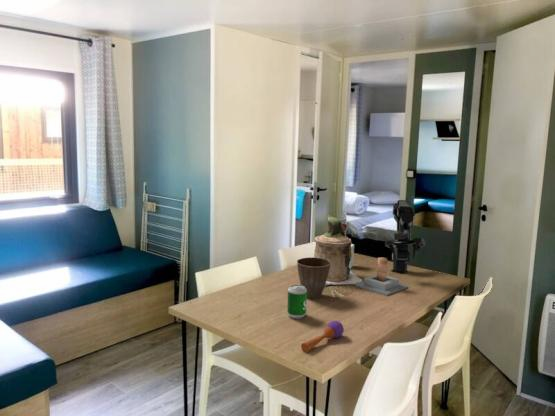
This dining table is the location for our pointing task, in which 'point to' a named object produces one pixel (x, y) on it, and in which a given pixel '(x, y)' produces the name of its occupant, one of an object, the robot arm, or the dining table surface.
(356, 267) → the dining table surface
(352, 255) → the supplement box
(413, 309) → the dining table surface
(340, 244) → the cookie jar
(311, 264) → the plant pot
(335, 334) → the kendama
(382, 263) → the peg
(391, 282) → the socket block
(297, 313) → the soda can
